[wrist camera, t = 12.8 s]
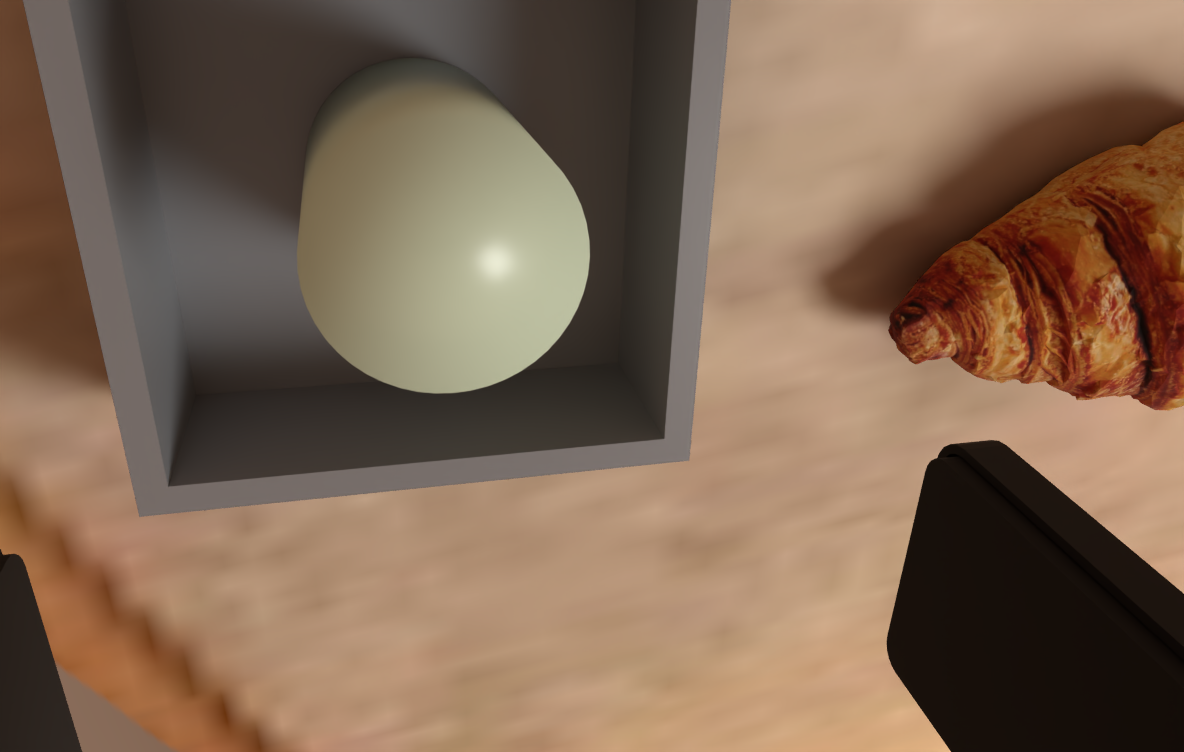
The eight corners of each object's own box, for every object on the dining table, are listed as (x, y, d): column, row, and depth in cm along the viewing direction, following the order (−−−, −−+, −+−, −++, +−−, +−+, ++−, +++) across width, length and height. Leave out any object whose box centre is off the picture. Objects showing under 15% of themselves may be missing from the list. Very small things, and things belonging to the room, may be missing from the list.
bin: (73, -135, 22) (-11, -148, 17) (659, -111, 25) (741, -115, 20) (176, 405, 29) (139, 516, 23) (632, 369, 32) (689, 460, 27)
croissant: (1295, 98, 38) (1519, 19, 30) (1355, 337, 38) (1593, 322, 30) (816, 219, 34) (925, 168, 27) (884, 480, 35) (1011, 505, 27)
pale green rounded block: (294, 56, 24) (281, 117, 17) (522, 58, 25) (595, 114, 19) (316, 275, 27) (312, 404, 20) (521, 265, 28) (585, 382, 21)
